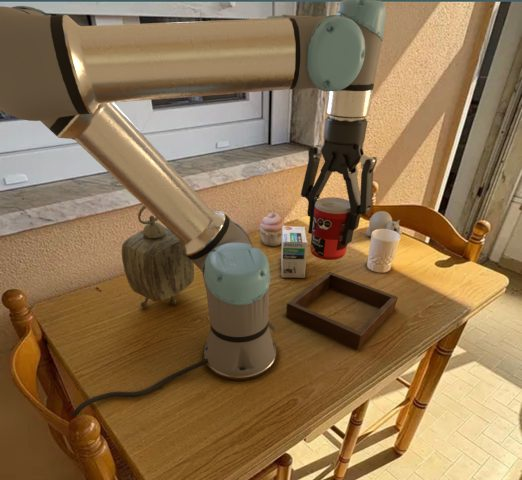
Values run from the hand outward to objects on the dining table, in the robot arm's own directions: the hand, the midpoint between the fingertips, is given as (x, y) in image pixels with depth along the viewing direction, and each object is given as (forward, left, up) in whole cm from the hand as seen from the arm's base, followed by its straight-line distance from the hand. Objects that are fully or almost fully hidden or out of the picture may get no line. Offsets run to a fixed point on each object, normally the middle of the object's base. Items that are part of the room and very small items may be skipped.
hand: (329, 237), depth 83 cm
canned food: (0, 0, -4) cm, 4 cm away
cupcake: (+22, +32, -19) cm, 43 cm away
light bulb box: (+12, +17, -19) cm, 28 cm away
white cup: (+29, -2, -19) cm, 35 cm away
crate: (+1, -5, -19) cm, 20 cm away
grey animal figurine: (+47, +5, -19) cm, 51 cm away
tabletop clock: (-22, +32, -19) cm, 43 cm away
